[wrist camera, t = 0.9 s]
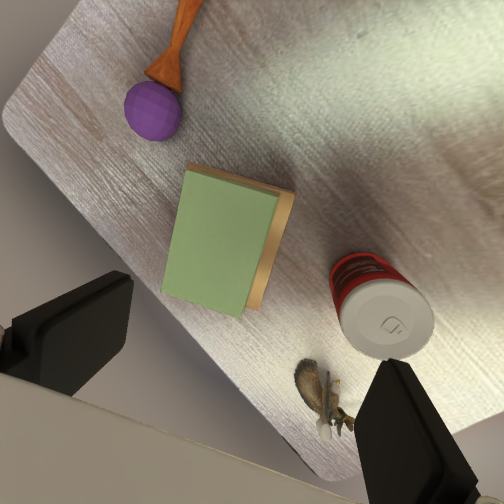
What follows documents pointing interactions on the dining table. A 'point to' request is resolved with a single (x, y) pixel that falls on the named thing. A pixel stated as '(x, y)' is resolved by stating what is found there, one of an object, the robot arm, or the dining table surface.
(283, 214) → the maple block
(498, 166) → the dining table surface
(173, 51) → the purple wooden maraca
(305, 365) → the eagle figurine
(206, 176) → the sage block
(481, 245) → the dining table surface
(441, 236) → the dining table surface
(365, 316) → the canned food
